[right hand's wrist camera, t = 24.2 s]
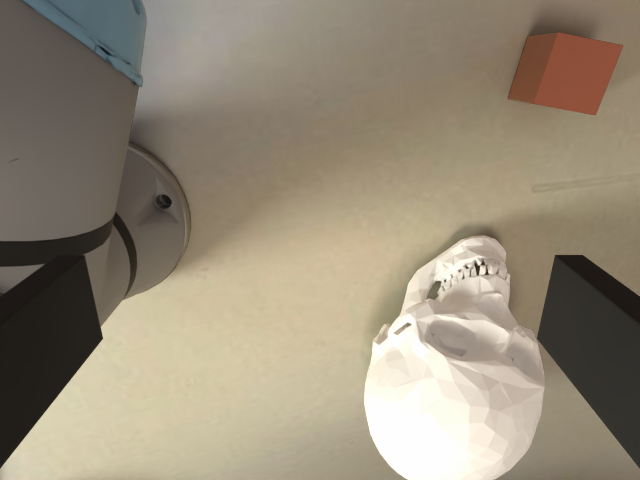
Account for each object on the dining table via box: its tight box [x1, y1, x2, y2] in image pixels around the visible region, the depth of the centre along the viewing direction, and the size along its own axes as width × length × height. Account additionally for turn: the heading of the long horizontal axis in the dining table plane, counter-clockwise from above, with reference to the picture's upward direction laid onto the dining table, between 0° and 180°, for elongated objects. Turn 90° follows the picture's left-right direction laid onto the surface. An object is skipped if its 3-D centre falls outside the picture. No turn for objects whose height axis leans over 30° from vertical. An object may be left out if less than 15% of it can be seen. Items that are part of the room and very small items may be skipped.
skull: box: [364, 235, 545, 480], centre depth 39 cm, size 13×22×16 cm, turn 165°
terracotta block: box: [508, 32, 623, 115], centre depth 35 cm, size 5×5×5 cm
